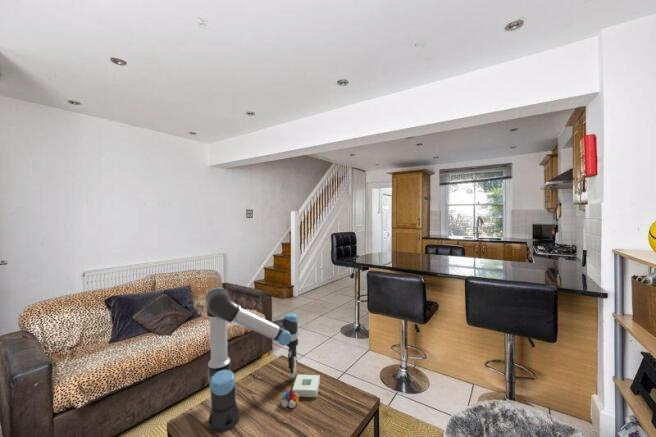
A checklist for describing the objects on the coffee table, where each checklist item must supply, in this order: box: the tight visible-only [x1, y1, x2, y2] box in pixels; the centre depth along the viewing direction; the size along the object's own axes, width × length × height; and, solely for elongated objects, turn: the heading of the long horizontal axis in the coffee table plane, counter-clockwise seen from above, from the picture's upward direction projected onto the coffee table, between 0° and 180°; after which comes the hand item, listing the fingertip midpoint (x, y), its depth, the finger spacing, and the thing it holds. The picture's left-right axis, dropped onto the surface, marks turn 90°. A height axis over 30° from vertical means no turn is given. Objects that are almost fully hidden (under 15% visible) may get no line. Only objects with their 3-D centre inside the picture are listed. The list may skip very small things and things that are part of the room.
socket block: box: [291, 373, 321, 398], centre depth 164 cm, size 14×14×4 cm
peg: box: [289, 356, 297, 383], centre depth 173 cm, size 4×4×14 cm
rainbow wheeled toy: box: [280, 389, 300, 409], centre depth 152 cm, size 8×10×7 cm
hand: (293, 374), depth 173 cm, fingers closed on peg, 4 cm apart
